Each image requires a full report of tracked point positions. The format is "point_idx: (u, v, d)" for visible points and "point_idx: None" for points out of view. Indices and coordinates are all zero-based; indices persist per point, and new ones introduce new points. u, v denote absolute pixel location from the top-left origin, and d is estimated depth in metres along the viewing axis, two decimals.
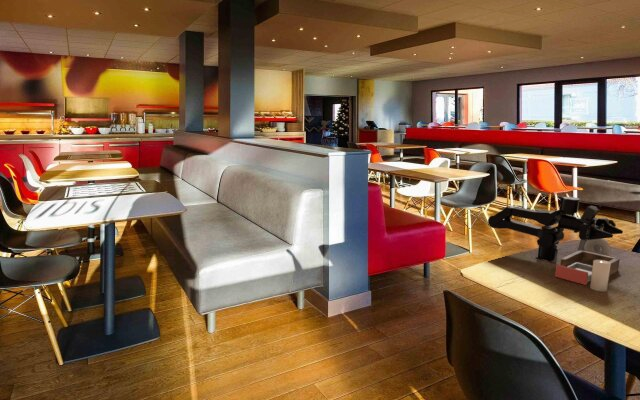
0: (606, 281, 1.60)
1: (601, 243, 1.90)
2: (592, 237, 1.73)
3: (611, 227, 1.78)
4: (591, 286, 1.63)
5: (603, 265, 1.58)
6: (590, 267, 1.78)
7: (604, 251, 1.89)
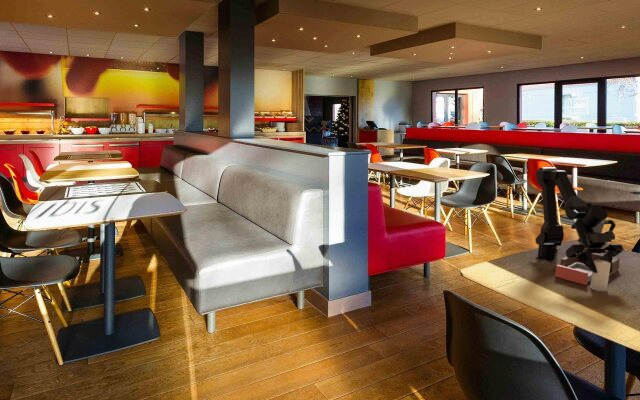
0: (606, 281, 1.60)
1: None
2: (581, 259, 1.64)
3: (608, 260, 1.62)
4: (591, 286, 1.63)
5: (603, 265, 1.58)
6: None
7: None
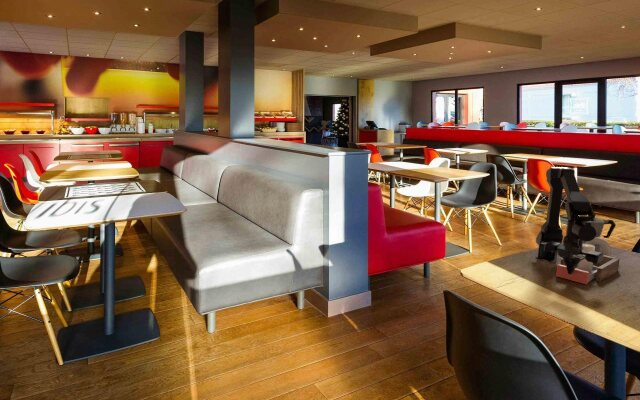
0: (591, 263, 1.75)
1: (601, 243, 1.90)
2: None
3: None
4: (577, 268, 1.78)
5: (587, 248, 1.74)
6: None
7: (604, 251, 1.89)
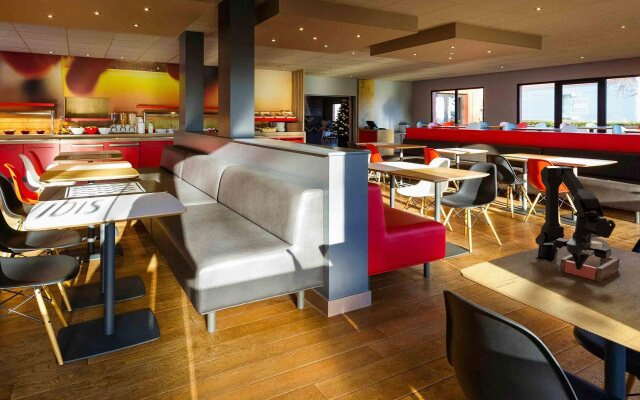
0: (598, 259, 1.79)
1: None
2: None
3: (580, 259, 1.72)
4: (585, 264, 1.82)
5: (595, 245, 1.78)
6: None
7: None
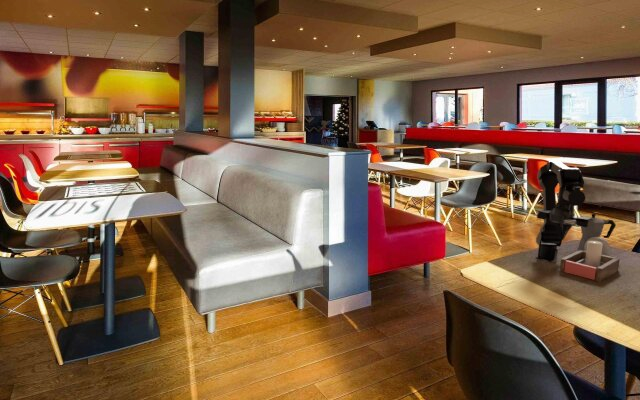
0: (598, 260, 1.79)
1: None
2: None
3: None
4: (585, 264, 1.82)
5: (595, 245, 1.78)
6: None
7: (604, 251, 1.89)
